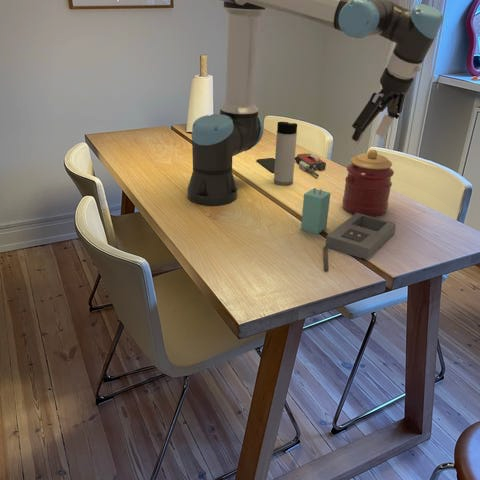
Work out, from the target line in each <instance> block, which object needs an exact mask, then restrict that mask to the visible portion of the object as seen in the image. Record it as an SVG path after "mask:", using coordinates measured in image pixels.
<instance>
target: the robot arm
mask: <svg viewBox="0 0 480 480" xmlns="http://www.w3.org/2000/svg"><path fill="white" fill-rule="evenodd" d="M220 1H221V2H223V9H224V11H225V12H226V13H227V15H228V24H227V25H228V27H227V49H226V50H227V51H226V52H227V53H226V73H225V74H226V78H225V80H226V81H225V100H224V101H225V102H224V103H222V104H221V106H219V107H220V108H219V113H217V114H215V113H214V114H209V115H208V114H207V115H203V116H201V117H199V118H197V119H195V120H194V122H193V124H192V126H191V127H192V129H191V130H192V131H191V140H192V141H191V142H192V143H191V148H192V150H191V151H192V174H191V177H190V179H189V183H188V185H187V191H186V193H187V199H188V200H189V201H191V202H193V203H196V204H198V205H199V204H200V205H204V206H221V205H226V204H230V203H232V202H234V201H236V200H237V198H238V186H237V184H236V180H235V177H234V174H233V157H234V156H237V155H239V154H241V153H243V152H248V151H249V150H252V149H253V148H254V147H255V146H257V145H258V144H259V142H260V141H261V140H262V137H263V135H264V122H263V120H262V119H261V117H260V115H259V108H258V107H257V106H256V104H255V91H256V90H255V89H256V75H257V74H256V73H257V60H258V59H257V58H258V46H259V45H258V44H259V30H260V29H259V28H260V17H261V15H263V14H264V13H265V12H266V9H268V10H271V11H274V12H277V13H281V14H285V15H288V16H291V17H294V18H298V19H301V20H304V21H308V22H311V23H314V24H318V25H321V26H325V27H327V28H329V29H334V30H337V31H338V32H339V31H340V32H343V34H345V35H346V37H347V36H348V37H350V38H355V39H362V38H366V37H369V36H373V35H374V36H375V35H378V36H380V37H382V38H384V39H386V40H389V41H390V42H392V43H395V46H394V48H393V50H392V52H391V54H390V56H389V59H388V61H387V63H386V67H385V68H384V69H383V72H382V75H381V76H380V80H379V83H380V85H381V87H382V88H381V89H380V90H379V92H378V93H377V92H373V93H372V95H371V96H370V99H369V100H368V101H367V103H366V105H365V106H364V107H363V109H362V111H361V112H360V113H359V115H358V116H357V118H356V119H355V121H354V122H353V123H352V124H351V127H352V128H353V129H354V131H353V132H352V135H351V138H350V139H349V142H348V144H347V146H346V147H348V148H349V149H350V150H352V151H353V152H355V153H356V152H357V151H358V149H359V146H361V142H362V141H363V138H364V136H365V135H366V129H367V128H368V127H369V126H370V124H371V123H372V122H373V121H374V120H375V119H376V117H377V116H378V115H379V114H380V113H382V112H384V111H385V109H386V110H387V112H386V113H384V116H383V117H382V119H381V121H380V123H379V126H378V127H377V130H376V132H375V135H377V136H378V137H380V138H382V139H385V137H386V135H387V133H388V131H389V129H390V127H391V125H392V124H393V121H394V120H395V119H396V120H397V119H399V118H400V114H401V113H402V111H403V107H404V104H405V99H406V95H407V93H408V91H409V90H410V88H411V86H412V83H413V82H414V78H415V77H416V75H417V73H419V72H420V71H421V68H420V67H421V66H422V63H423V62H424V59H425V58H426V56H427V54H428V53H429V51H430V48H431V47H432V45H433V43H434V41H435V39H436V37H437V35H438V32H439V30H440V28H441V26H442V23H443V21H444V17H443V16H444V15H443V14H442V11H440V10H438V9H437V8H435V7H433V6H431V5H427V4H424V3H418V4H417V3H416V4H414V5H413V6H412V9H408V8H406V7H403V6H402V5H400V4H397V3H395V2H393V1H391V0H220ZM394 118H395V119H394Z"/></svg>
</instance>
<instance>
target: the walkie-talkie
mask: <svg viewBox="0 0 480 480" xmlns="http://www.w3.org/2000/svg"><path fill="white" fill-rule="evenodd" d="M295 162H296V163H297V164H298V165H299V169H301V170H302V171H303V172H308V173H310V174H311V175H314V176H315V177H318V178H319V176H320V175H319V173H317V172H316V171H326V166H327V163H326V161H323V160H321V158H320V157H319V156H317V155H316V154H312V153H310V152H308V153H299V154H296V156H295Z"/></svg>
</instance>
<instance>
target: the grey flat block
mask: <svg viewBox="0 0 480 480" xmlns="http://www.w3.org/2000/svg"><path fill="white" fill-rule="evenodd" d="M396 225H397V223H396V222H393V221H389V220H386V219H385V220H384V219H382V218H377V217H376V216H367V215H364V214H360V213H355V214H353V215H351V216H350V217H349V218H347V219H346V220H345V221H344V222H342V223H341V224H340V225H339V226H337V227H336V228H335V229H333V230H332V231H331V232H329V233H328V234H327V235H326V238H325V245H324V246H327V248H328V249H332V250H334V251H338V252H340V253H344V254H345V255H346V254H347V255H351V256H353V257H355V258H360V259H362V258H365V259H368V258H369V257H370V256H371V255H372V254H373V253H374V252H375V251H376V250H377V249H378V248H379V247H380V248H381V247H382V246H383V245H384V244H385V243H387V241H388V240H389V239H390V238H391V237H392V236H394V234H395V231H396ZM359 226H360V227H359ZM377 230H378V231H377ZM382 244H383V245H382ZM381 245H382V246H381ZM380 248H379V249H380ZM379 249H378V250H379ZM378 250H377V251H378ZM377 251H376V252H377ZM376 252H375V253H376ZM375 253H374V254H375ZM374 254H373V255H374ZM373 255H372V256H373ZM372 256H371V257H372ZM371 257H370V258H371ZM370 258H369V259H370ZM365 259H364V260H365ZM369 259H368V260H369Z"/></svg>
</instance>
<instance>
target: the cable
mask: <svg viewBox="0 0 480 480" xmlns="http://www.w3.org/2000/svg"><path fill="white" fill-rule="evenodd" d="M322 249H323V253H322V254H323V270H324V272H327V271H329V253H328V252H329V250H328V249H329V248H328V247H327V246H325V245H324V246H323V248H322Z"/></svg>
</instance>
